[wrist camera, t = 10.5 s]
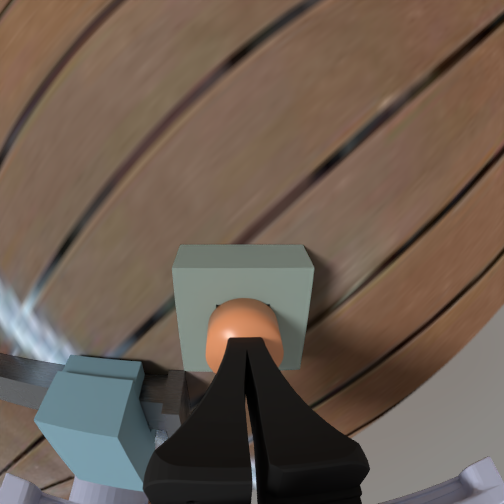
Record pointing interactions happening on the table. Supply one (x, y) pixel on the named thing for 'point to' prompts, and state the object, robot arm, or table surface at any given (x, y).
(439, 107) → the table surface
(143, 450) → the block
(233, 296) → the green square holed block
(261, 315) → the orange round knob
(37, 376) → the rail
